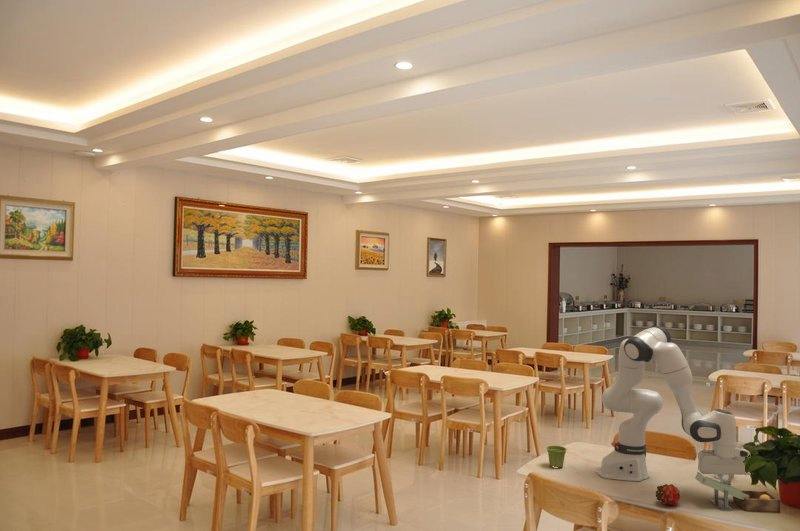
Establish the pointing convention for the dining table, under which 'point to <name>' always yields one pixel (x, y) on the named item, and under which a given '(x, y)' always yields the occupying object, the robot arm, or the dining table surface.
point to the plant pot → (556, 455)
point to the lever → (720, 486)
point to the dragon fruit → (668, 494)
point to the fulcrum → (720, 503)
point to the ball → (764, 497)
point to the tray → (758, 502)
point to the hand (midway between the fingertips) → (725, 485)
